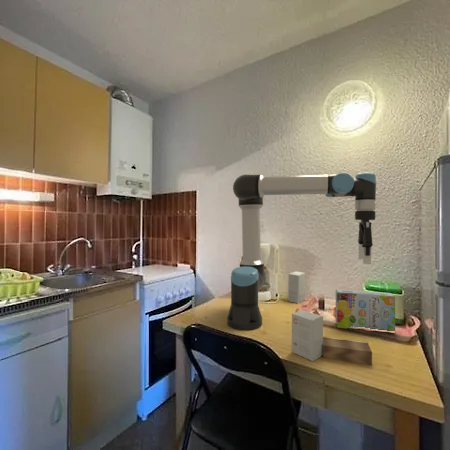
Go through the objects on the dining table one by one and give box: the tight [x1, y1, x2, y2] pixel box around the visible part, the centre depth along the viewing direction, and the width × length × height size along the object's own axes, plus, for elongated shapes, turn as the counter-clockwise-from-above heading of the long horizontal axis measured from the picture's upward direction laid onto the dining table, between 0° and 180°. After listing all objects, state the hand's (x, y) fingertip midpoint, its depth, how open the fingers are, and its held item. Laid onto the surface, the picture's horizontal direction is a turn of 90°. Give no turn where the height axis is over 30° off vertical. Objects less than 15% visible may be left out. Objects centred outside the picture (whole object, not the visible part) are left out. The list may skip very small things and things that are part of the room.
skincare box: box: [287, 270, 306, 304], centre depth 145 cm, size 8×7×16 cm
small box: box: [291, 309, 324, 362], centre depth 87 cm, size 8×6×13 cm
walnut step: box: [322, 336, 373, 366], centre depth 86 cm, size 14×6×4 cm, turn 72°
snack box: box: [335, 289, 396, 332], centre depth 108 cm, size 21×6×15 cm, turn 73°
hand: (364, 261), depth 110 cm, fingers open, 13 cm apart
